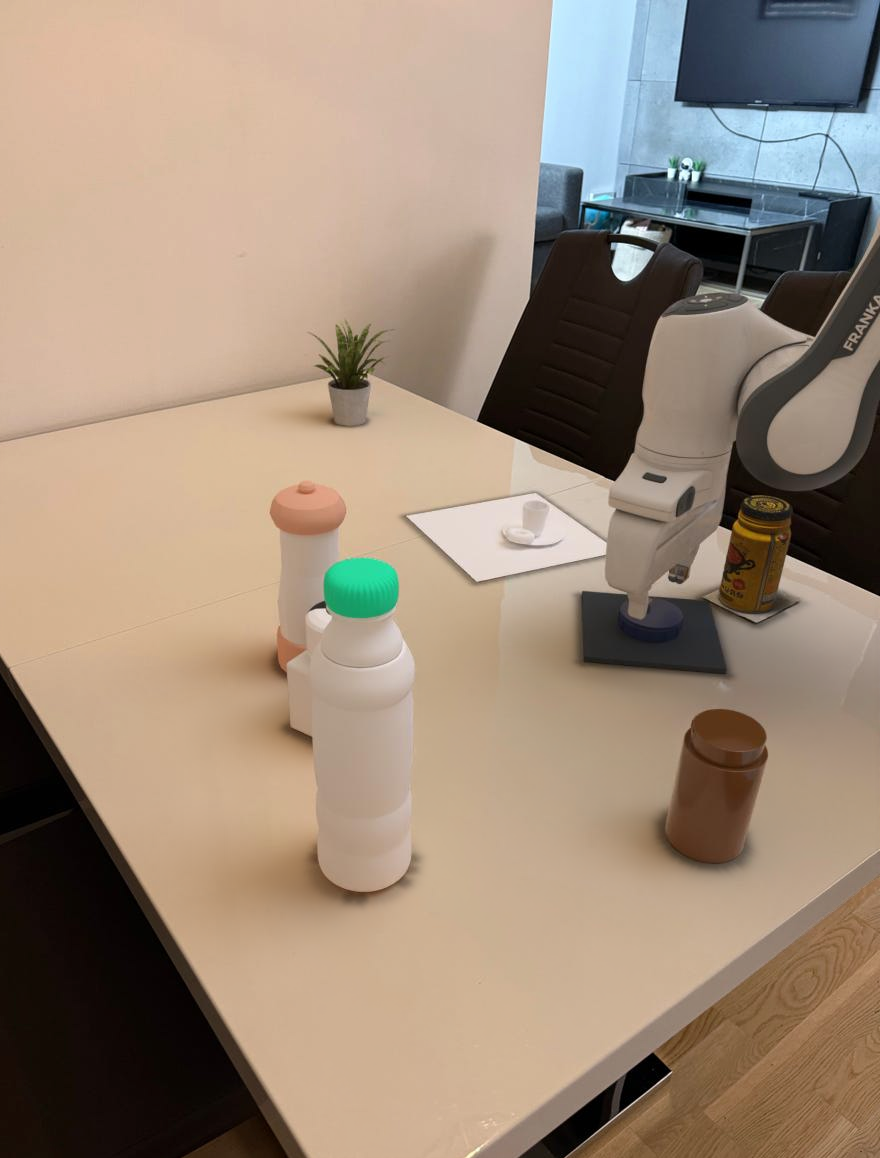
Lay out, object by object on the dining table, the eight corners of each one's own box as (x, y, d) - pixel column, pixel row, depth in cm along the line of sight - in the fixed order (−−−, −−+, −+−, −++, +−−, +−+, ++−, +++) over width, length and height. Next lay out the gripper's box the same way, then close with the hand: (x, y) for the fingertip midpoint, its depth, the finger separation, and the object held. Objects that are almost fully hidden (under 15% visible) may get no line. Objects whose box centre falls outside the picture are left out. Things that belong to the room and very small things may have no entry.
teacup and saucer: (516, 554, 116) (518, 524, 114) (485, 528, 122) (487, 499, 120) (576, 542, 119) (580, 512, 117) (543, 517, 126) (546, 489, 123)
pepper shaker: (346, 637, 99) (342, 465, 89) (355, 676, 93) (352, 495, 83) (276, 643, 98) (264, 469, 88) (281, 682, 92) (268, 500, 82)
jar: (736, 813, 77) (763, 708, 71) (749, 867, 72) (780, 758, 66) (661, 806, 78) (682, 702, 72) (669, 859, 73) (693, 751, 67)
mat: (708, 605, 106) (708, 600, 106) (725, 673, 94) (727, 668, 94) (581, 595, 108) (582, 590, 108) (583, 661, 96) (584, 656, 96)
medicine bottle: (337, 691, 91) (334, 581, 85) (398, 717, 88) (399, 605, 81) (288, 728, 86) (281, 614, 80) (350, 757, 83) (347, 640, 76)
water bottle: (402, 903, 69) (407, 602, 55) (307, 889, 70) (290, 591, 56) (417, 835, 74) (425, 549, 61) (330, 824, 75) (319, 540, 62)
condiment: (701, 598, 108) (721, 500, 101) (746, 577, 112) (768, 482, 106) (756, 624, 103) (780, 523, 96) (801, 602, 107) (827, 503, 101)
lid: (605, 620, 102) (607, 606, 101) (650, 605, 105) (652, 591, 104) (648, 648, 97) (650, 633, 96) (693, 632, 100) (696, 617, 99)
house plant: (417, 422, 158) (419, 321, 149) (357, 442, 149) (356, 337, 140) (357, 402, 166) (356, 306, 157) (297, 421, 157) (293, 320, 149)
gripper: (691, 435, 100) (672, 554, 107) (600, 495, 86) (584, 626, 93) (750, 448, 96) (726, 569, 104) (665, 512, 83) (644, 647, 90)
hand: (658, 597), depth 98 cm, fingers open, 8 cm apart
